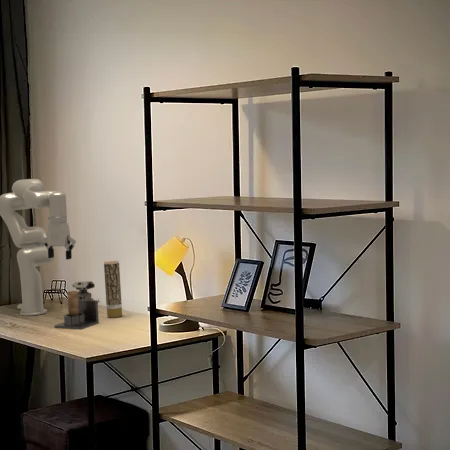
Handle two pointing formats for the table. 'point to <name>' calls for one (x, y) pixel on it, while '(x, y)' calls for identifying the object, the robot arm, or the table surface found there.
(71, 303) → the brown wooden cylinder
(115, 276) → the paper tube
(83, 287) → the figurine
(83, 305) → the bracket
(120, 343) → the table surface
